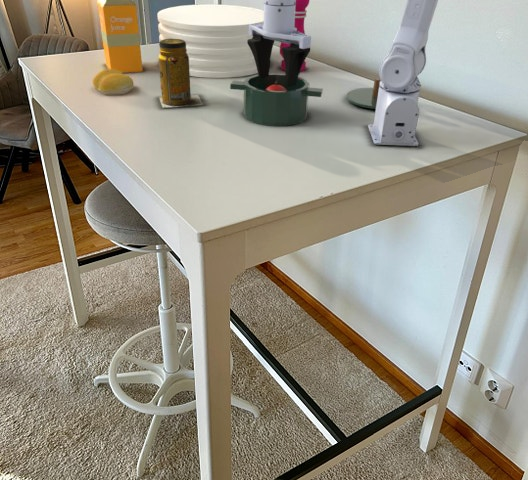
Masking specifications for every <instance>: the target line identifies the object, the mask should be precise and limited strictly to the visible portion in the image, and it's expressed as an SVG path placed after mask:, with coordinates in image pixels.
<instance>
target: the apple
mask: <svg viewBox="0 0 528 480" xmlns="http://www.w3.org/2000/svg"><path fill="white" fill-rule="evenodd" d="M277 84H278V81H276V83H275V85H271V86H269V87H268V88H266V90H270V91H287V90H286V89H285V88H284V87H283V86H281V85H277Z"/></svg>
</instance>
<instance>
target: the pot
mask: <svg viewBox="0 0 528 480" xmlns="http://www.w3.org/2000/svg"><path fill="white" fill-rule="evenodd" d="M276 81H278V84H277V85H281V86H283V87H284V88H285V89H286V90H287V91H270V90H266V88H268V87H269V86H271V85H275V83H276ZM229 88H230V90H235V91H236V90H238V91H243V117H244V118H245V119H246V120H248V121H250V122H252V123H255V124H258V125H261V126H269V127H272V126H273V127H285V126H287V127H288V126H292V125H298V124H300V123H302V122H304V121H305V120H306V119H307V117H308V116H307V115H308V109H309V98H310V97H313V98H315V97H316V98H322V95H323V91H324V89H323V88H320V87H310V82H309V80H307V79H305V78H302V77H300V76H298V79H297V82H296V85H295V86H291V87H287V86H286V83H285V73H269V76H268V77H264V78H259V76H258V74H253V75H250V76H249V77H246V78H245V79H244V80H242V81H241V80H240V81H239V80H233V81H232V82H230V85H229Z"/></svg>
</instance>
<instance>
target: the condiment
mask: <svg viewBox="0 0 528 480" xmlns="http://www.w3.org/2000/svg"><path fill="white" fill-rule="evenodd" d="M158 45H159V55H158V66H159V67H158V69H159V78H160V79H159V81H160V82H159V83H160V90H161V96H159V97H158V98H159V101H160V104H161V107H162V108H182V107H195V106H204V103H203V102H202V100H201V98H200V95H199V94H191V76H190V73H189V57H188V55H187V53H186V52H187V49H186V42H185V41H184V40H181V39H164V40H161V41H159V43H158Z"/></svg>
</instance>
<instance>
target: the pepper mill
mask: <svg viewBox="0 0 528 480" xmlns="http://www.w3.org/2000/svg"><path fill="white" fill-rule="evenodd" d="M309 4H310V0H296V5H295V24H294V28H297V31H299V32H301V33H303V34H305V35H306V32H305V19H306V17H307V12H308V11H307V10H306V8H307V7H308V6H309ZM284 47H290V44H286V43H282V42H280V45H279V55H280V56H281V57H282V60H280V69H281V70H282V71H285V62H284V57H283V53H282V48H284ZM306 64H307V61H306V60H305V61H304V63H303V65H302V67H301V70H300V72H303V71H305V70H306Z"/></svg>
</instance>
